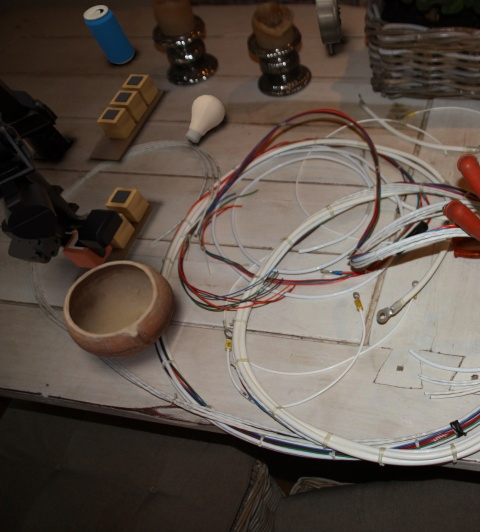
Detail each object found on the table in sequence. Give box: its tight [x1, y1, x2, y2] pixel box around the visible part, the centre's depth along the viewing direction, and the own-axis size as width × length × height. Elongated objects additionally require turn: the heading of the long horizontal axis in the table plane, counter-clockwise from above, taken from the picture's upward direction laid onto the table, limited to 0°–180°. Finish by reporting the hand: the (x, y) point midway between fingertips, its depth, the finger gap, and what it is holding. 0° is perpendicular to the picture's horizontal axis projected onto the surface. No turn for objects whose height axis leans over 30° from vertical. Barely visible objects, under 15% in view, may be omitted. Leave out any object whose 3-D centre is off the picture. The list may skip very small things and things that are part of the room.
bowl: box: [62, 259, 175, 358], centre depth 85 cm, size 16×16×10 cm
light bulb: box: [185, 94, 226, 144], centre depth 113 cm, size 7×7×11 cm
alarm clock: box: [314, 0, 346, 55], centre depth 121 cm, size 11×5×16 cm, turn 6°
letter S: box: [61, 231, 113, 268], centre depth 92 cm, size 4×4×5 cm
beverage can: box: [83, 4, 136, 65], centre depth 129 cm, size 6×6×12 cm
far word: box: [89, 73, 166, 163], centre depth 117 cm, size 7×22×5 cm, turn 168°
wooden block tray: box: [77, 186, 158, 278], centre depth 98 cm, size 7×18×5 cm, turn 168°
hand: (92, 254), depth 94 cm, fingers closed on letter S, 4 cm apart
